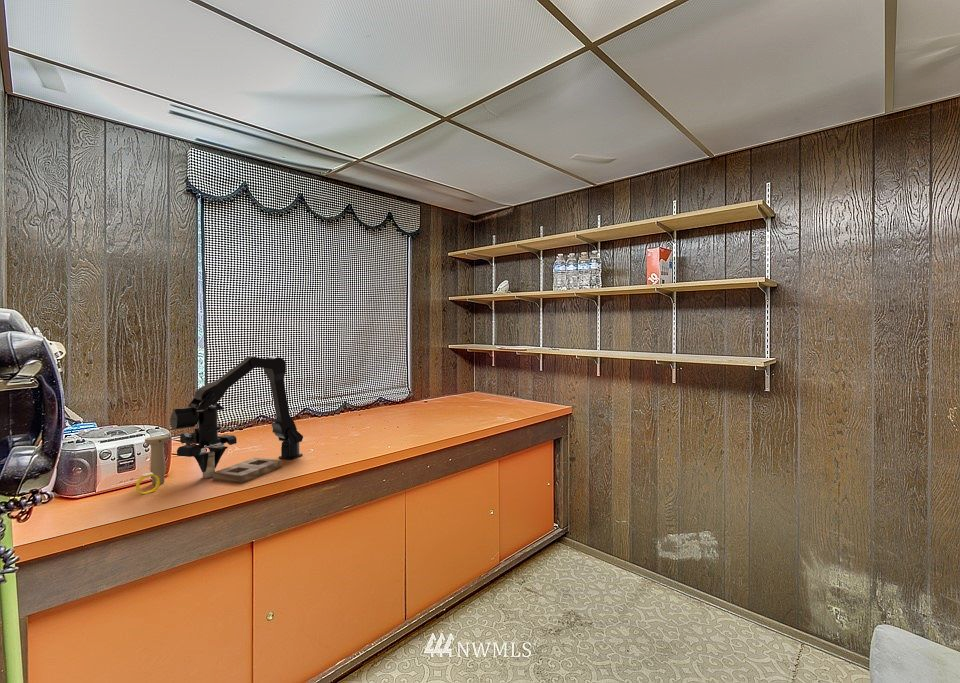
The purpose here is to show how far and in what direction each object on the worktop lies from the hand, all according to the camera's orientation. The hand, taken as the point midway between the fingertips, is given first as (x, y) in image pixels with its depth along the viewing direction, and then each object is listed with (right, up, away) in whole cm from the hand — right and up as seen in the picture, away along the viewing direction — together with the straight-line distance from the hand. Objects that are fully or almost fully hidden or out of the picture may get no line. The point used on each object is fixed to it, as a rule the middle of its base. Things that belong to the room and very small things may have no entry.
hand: (208, 470), depth 154 cm
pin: (0, -2, 0) cm, 2 cm away
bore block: (+12, -2, +4) cm, 12 cm away
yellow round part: (-10, -3, -15) cm, 18 cm away
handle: (-13, -3, -6) cm, 14 cm away
